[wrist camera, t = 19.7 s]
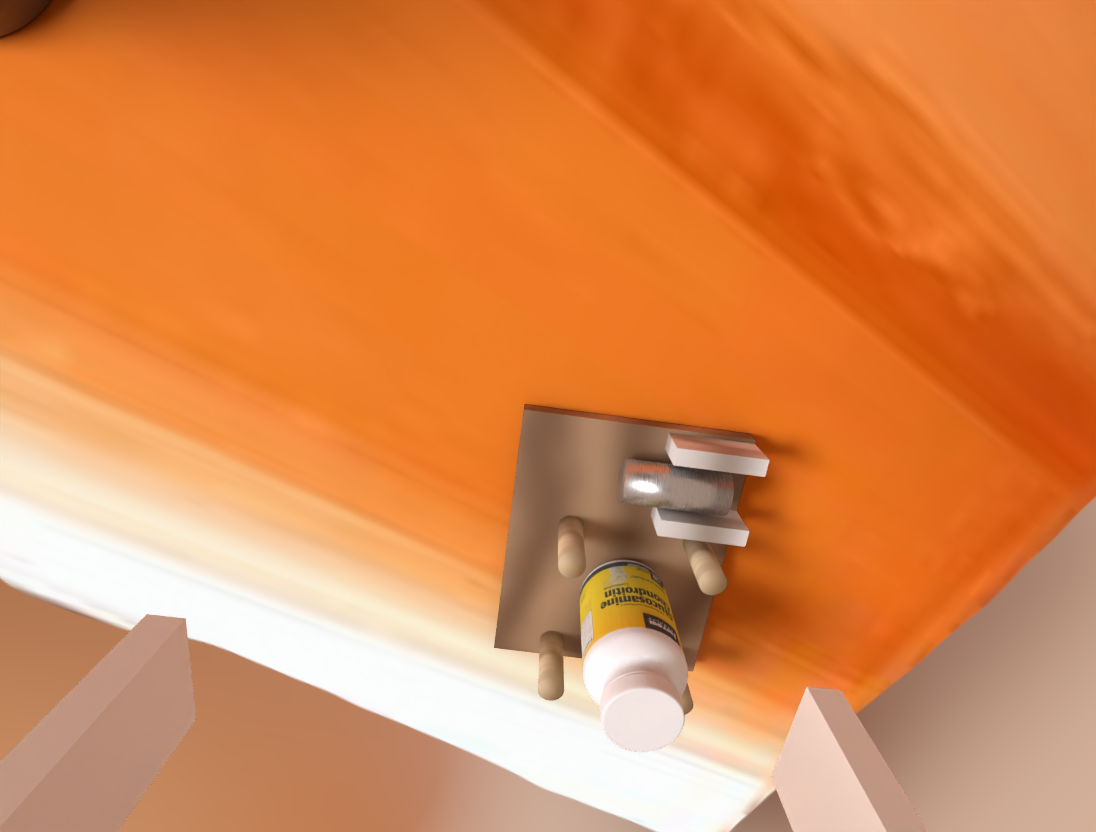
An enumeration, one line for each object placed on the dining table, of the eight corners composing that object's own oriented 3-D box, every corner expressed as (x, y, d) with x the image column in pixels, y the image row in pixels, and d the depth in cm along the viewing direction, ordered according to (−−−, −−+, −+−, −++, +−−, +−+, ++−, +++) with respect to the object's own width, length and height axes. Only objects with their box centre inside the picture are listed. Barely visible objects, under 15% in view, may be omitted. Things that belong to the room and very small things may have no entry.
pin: (616, 490, 39) (621, 511, 36) (624, 451, 38) (629, 469, 35) (714, 502, 39) (726, 524, 36) (724, 464, 38) (737, 483, 35)
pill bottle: (681, 580, 41) (726, 707, 30) (632, 640, 43) (659, 780, 32) (608, 540, 40) (627, 656, 29) (562, 603, 42) (564, 735, 31)
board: (495, 637, 45) (486, 698, 39) (524, 404, 38) (519, 435, 33) (689, 660, 45) (709, 724, 39) (750, 433, 39) (784, 469, 33)
